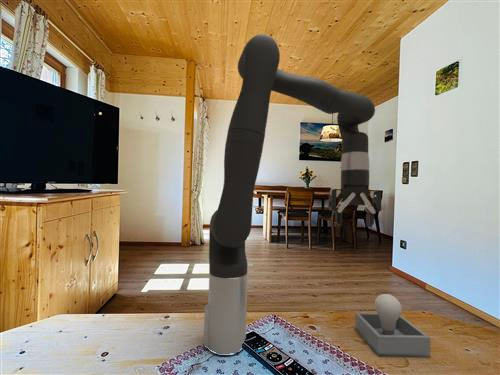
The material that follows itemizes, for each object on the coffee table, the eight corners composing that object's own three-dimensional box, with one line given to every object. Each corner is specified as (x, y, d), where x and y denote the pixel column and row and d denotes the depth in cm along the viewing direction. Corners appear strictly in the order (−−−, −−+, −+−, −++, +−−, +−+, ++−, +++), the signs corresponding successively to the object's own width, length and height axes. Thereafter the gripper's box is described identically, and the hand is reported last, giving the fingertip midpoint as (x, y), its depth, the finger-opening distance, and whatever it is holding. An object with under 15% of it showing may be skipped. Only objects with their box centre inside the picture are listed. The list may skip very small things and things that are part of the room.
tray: (378, 356, 57) (378, 336, 57) (355, 328, 69) (355, 312, 69) (430, 357, 57) (430, 337, 58) (398, 329, 69) (398, 313, 70)
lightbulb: (395, 333, 66) (394, 290, 67) (407, 346, 60) (406, 300, 61) (371, 331, 67) (370, 289, 67) (380, 344, 61) (380, 298, 61)
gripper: (334, 167, 68) (334, 227, 67) (386, 168, 68) (386, 228, 67) (325, 170, 75) (325, 224, 75) (372, 171, 76) (372, 225, 75)
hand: (354, 226), depth 71 cm, fingers open, 8 cm apart
